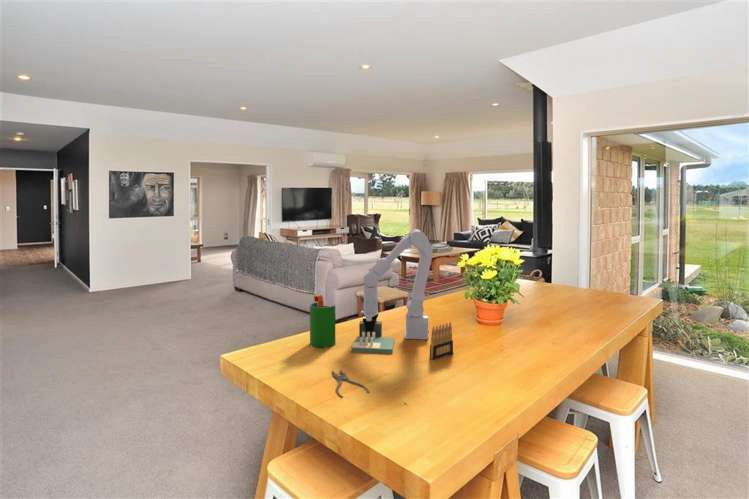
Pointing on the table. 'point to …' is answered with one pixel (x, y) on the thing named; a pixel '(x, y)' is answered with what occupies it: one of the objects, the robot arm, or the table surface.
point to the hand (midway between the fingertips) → (370, 333)
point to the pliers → (344, 377)
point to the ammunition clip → (441, 342)
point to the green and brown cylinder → (322, 323)
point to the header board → (373, 344)
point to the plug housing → (376, 329)
